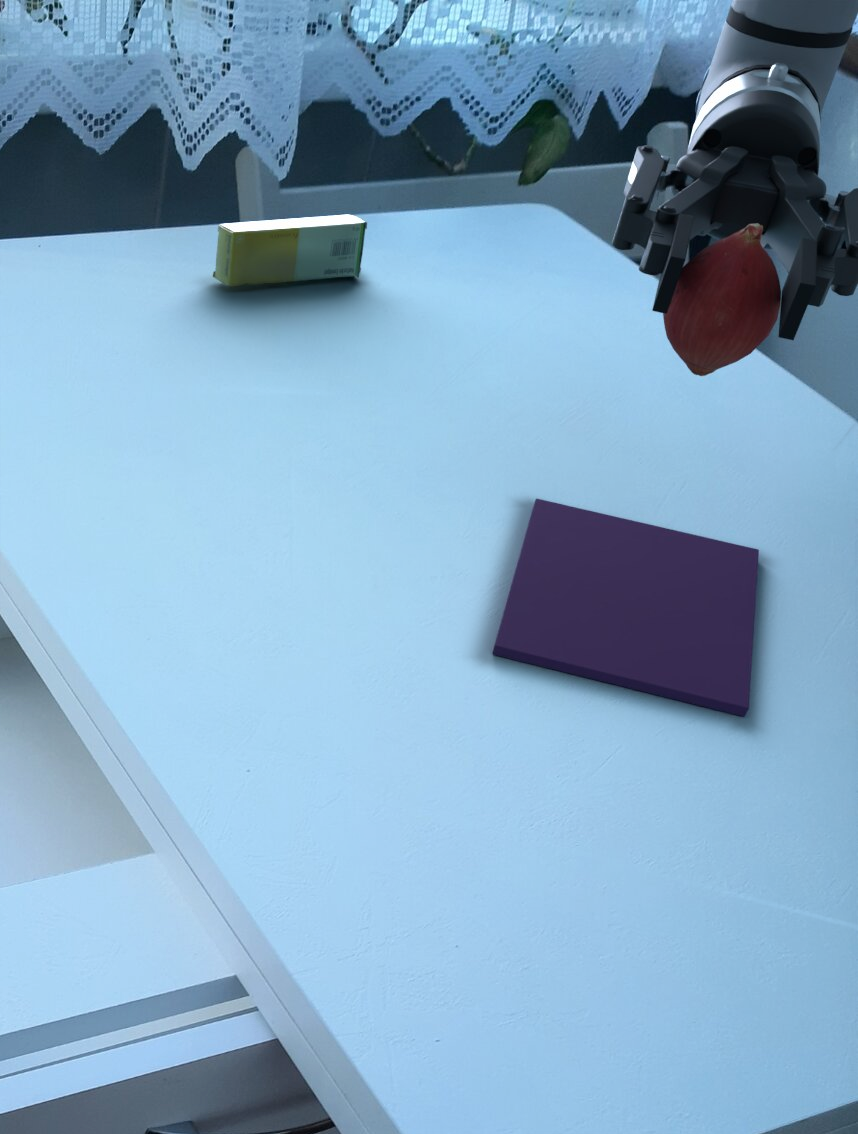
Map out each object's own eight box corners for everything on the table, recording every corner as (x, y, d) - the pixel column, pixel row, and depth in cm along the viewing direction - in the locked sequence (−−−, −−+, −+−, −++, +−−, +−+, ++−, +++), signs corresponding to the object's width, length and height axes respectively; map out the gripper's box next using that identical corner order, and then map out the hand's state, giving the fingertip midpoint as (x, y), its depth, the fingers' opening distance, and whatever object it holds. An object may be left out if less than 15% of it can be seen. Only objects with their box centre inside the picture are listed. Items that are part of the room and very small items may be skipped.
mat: (755, 557, 95) (759, 549, 94) (744, 717, 83) (749, 708, 82) (533, 506, 97) (535, 497, 97) (491, 654, 85) (494, 645, 85)
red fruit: (628, 373, 84) (679, 220, 78) (665, 340, 87) (717, 192, 81) (729, 408, 82) (790, 254, 76) (763, 374, 85) (824, 223, 79)
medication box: (344, 267, 121) (352, 212, 119) (362, 277, 120) (370, 221, 117) (211, 277, 117) (216, 221, 115) (227, 288, 115) (233, 231, 113)
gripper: (617, 58, 91) (569, 182, 75) (941, 118, 87) (960, 259, 72) (578, 193, 96) (527, 333, 81) (882, 253, 93) (889, 411, 78)
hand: (732, 298), depth 76 cm, fingers closed on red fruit, 6 cm apart
